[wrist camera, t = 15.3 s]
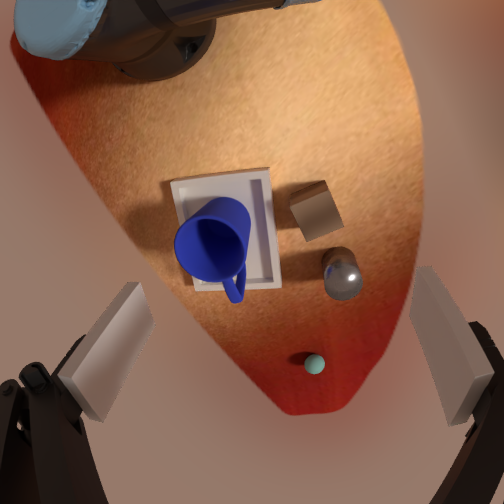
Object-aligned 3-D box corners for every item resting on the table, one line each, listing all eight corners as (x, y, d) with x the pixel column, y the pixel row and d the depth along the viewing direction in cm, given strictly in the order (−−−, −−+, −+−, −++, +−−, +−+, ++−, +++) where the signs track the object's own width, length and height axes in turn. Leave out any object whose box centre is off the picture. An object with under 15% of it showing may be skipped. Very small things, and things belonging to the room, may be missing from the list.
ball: (304, 350, 53) (304, 365, 50) (324, 349, 53) (325, 364, 49) (304, 364, 55) (304, 378, 52) (323, 363, 54) (324, 377, 51)
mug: (222, 274, 47) (205, 315, 38) (189, 200, 43) (161, 229, 34) (274, 260, 45) (268, 301, 36) (244, 181, 41) (229, 205, 32)
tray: (175, 178, 42) (170, 182, 40) (269, 167, 40) (268, 170, 38) (199, 284, 49) (195, 291, 48) (282, 280, 47) (281, 287, 45)
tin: (321, 247, 44) (324, 268, 39) (355, 245, 43) (363, 266, 38) (322, 278, 46) (324, 301, 41) (355, 275, 45) (361, 299, 40)
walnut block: (290, 194, 41) (289, 206, 37) (324, 179, 40) (328, 190, 35) (305, 226, 43) (306, 242, 39) (339, 212, 42) (344, 226, 37)
